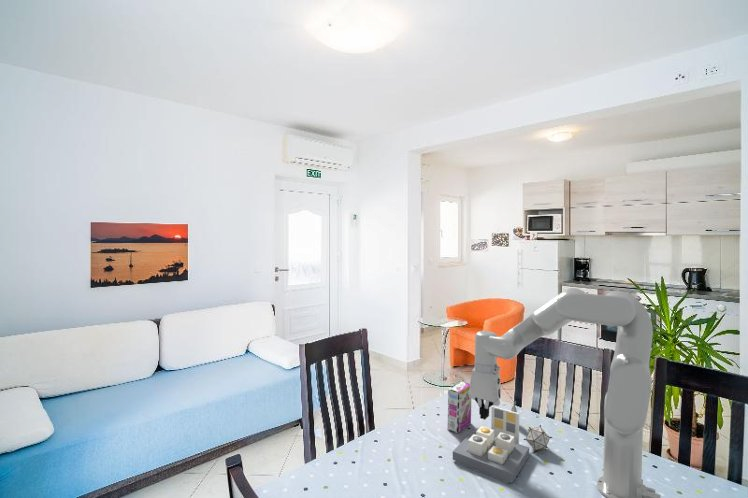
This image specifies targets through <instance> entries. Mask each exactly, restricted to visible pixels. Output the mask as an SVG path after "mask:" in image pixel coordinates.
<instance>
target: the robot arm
mask: <svg viewBox="0 0 748 498" xmlns="http://www.w3.org/2000/svg"><path fill="white" fill-rule="evenodd" d="M572 321H573V322H580V323H586V324H593V325H599V326H600V325H602V326H603V325H604V326H609V327H617V332H616V338H615V339H616V341H615V348H614V351H613V352H614V353H613V357H612V360H611V364H610V369H609V380H608V386H607V392H606V393H605V396H604V403H603V404H604V406H603V409H604V411H603V415H604V426H603V428H604V429H603V431H604V432H603V434H604V435H603V468H602V469H603V471H602V472H603V473H602V474H603V475H602V476H601V477H599V478H598V479H597V481H596V486H597V489H598V491H599V492H600V493H601V495H603V496H604V497H606V498H661V494H659V493H656V489H655V488H652V487H649V486H646V485H645V484H644V479H642V474H643V473H642V470H643V445H644V444H643V442H644V441H643V439H644V433H643V432H644V427H645V424H646V421H647V418H648V417H647V416H648V411H649V407H650V400H651V393H652V386H653V384H652V383H653V382H652V381H653V380H652V376H651V375H652V374H651V369H650V362H651V361H650V360H651V355H652V354H651V353H652V345H653V344H652V343H653V337H654V334H653V331H654V330H653V329H654V328H653V322H652V319H651V316H650V315H649V312H648V310H647V309H646V307H645V306H644V305H643V304H642V303H641V302H640V301H639V300H638V298H636V297H634V296H632V295H631V294H630V293H627V292H625V291H621V290H613V291H610V292H608V293H606V294H592V293H585V292H584V290H582V289H580V288H577V287H570V288H567V289H565V290H563V291H562V292H560V293H558V294H557V295H556V296H555V297H553V298H551V299H550V300H549V301H547V302H546V303H545V304H543V305H541V306H540V307H539V308H537V309H535V311H533V312H532V313H530V314H529V315H528V317H526V318H525V319H523V320H522V321H520V322H519V323H518V324H516V325H515V326H513V327H512V328H510V329H509V330H508V331H506V332H505V333H504V334H502V335H501V336H498V334H497V333H496V332H493V331H490V330H480V331H477V332H476V334H475V336H474V337H475V339H474V340H475V341H474V367H473V368H472V370H471V375H470V381H469V384H470V398H471V400H474V401H475V402H476V404H477V406H478V407H479V412H478V414H479V419H481V420H483V421H486V419H487V418H489V417H490V407H491V408H492V406H495V407H498V406H500V405H501V401H500V399H501V396H502V384H501V375H500V371H501V370H502V369H501V368H502V367H501V366H499V365H498V358H500V359H502V360H506V361H507V360H508V361H509V360H512V359H515V358H516V357H517V355H518V354H519V353H520V352H521V351H523V349H525V347H527V346H529V345H530V344H532V343H533V342H535V341H536V340H538V339H540V338H542V337H545V336H550V335H553V334H554V333H555V332H557V331H559V330H560V329H561V328H563V327H564V326H566V325H567V324H569V323H570V322H572Z"/></svg>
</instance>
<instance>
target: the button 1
mask: <svg viewBox="0 0 748 498" xmlns="http://www.w3.org/2000/svg"><path fill="white" fill-rule="evenodd" d="M476 430H477V431H476V435H478V436H481V437H484V438H487V447H489V448H490V447H491V446H492V445H493V444H494V430H492V429H491V428H489V427H486V426H484V425H483V426H482V425H481V426H480V427H479V428H478V429H476Z"/></svg>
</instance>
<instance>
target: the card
mask: <svg viewBox="0 0 748 498" xmlns="http://www.w3.org/2000/svg"><path fill="white" fill-rule="evenodd" d="M490 426H491V428H490V429H492V430H494V436H495V437H497V436H498V435H499V433H500V432H502V433H505V434H508V435H511V436H514V443H517V444H520V413H519V412H513V411H511V410H510V409H506V408H501V407H498V406H494V405H492V406H491V425H490Z"/></svg>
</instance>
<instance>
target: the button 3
mask: <svg viewBox="0 0 748 498" xmlns="http://www.w3.org/2000/svg"><path fill="white" fill-rule="evenodd" d="M496 447H499V448H502V449H504V450H507V451H508V454H509V455H511V454H512V452H513V451H514V436H511V435H508V434H505V433H502V432H500V433H499V435H498V436H497V437H496Z"/></svg>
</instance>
